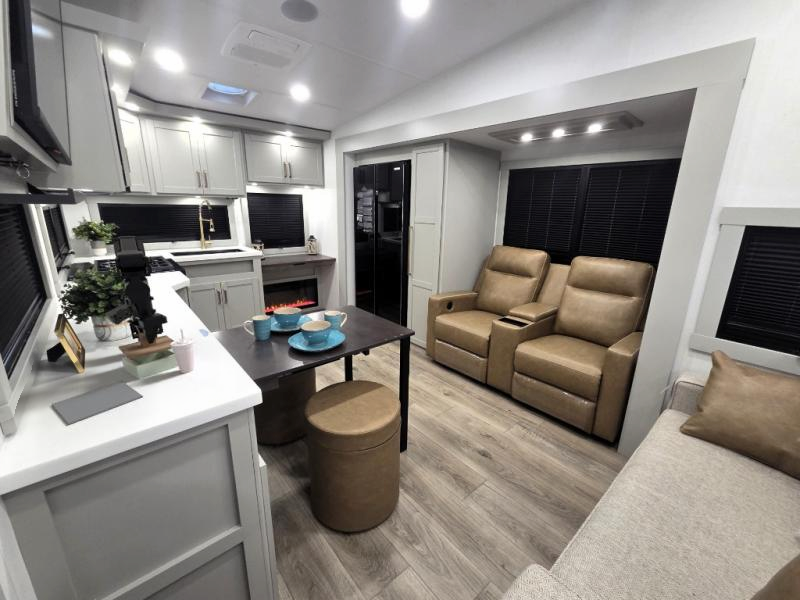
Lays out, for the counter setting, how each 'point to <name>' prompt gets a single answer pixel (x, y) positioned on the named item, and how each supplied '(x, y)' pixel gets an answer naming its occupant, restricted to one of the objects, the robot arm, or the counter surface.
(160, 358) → the dish
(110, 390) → the mat
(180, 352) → the smoothie
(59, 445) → the counter surface
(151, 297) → the robot arm
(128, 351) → the lid
